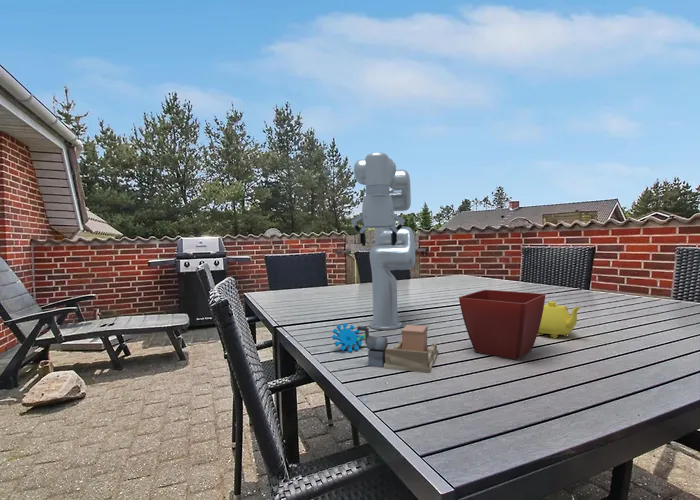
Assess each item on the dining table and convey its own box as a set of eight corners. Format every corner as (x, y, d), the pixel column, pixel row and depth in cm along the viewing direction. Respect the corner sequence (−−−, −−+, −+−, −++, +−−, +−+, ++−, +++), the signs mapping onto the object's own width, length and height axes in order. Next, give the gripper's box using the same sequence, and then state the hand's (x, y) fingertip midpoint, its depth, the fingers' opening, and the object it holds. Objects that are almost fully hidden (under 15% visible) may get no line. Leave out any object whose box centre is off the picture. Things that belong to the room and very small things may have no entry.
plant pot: (458, 352, 112) (457, 296, 112) (485, 339, 126) (484, 289, 126) (525, 366, 99) (524, 303, 99) (547, 349, 113) (546, 294, 113)
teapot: (596, 338, 125) (596, 303, 124) (568, 344, 118) (568, 308, 118) (541, 325, 142) (541, 295, 142) (514, 331, 136) (514, 299, 135)
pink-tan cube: (407, 347, 115) (406, 324, 114) (427, 349, 112) (427, 325, 112) (401, 354, 108) (401, 330, 108) (423, 356, 106) (423, 331, 105)
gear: (335, 349, 112) (331, 321, 119) (329, 359, 116) (326, 331, 123) (369, 350, 116) (363, 322, 123) (363, 360, 120) (357, 332, 127)
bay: (373, 347, 119) (373, 315, 119) (438, 353, 112) (437, 319, 112) (355, 365, 103) (354, 328, 103) (429, 372, 96) (428, 333, 96)
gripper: (401, 193, 126) (402, 245, 126) (350, 194, 125) (351, 246, 125) (406, 190, 118) (407, 245, 118) (351, 191, 117) (352, 246, 117)
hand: (378, 245), depth 122 cm, fingers open, 9 cm apart
